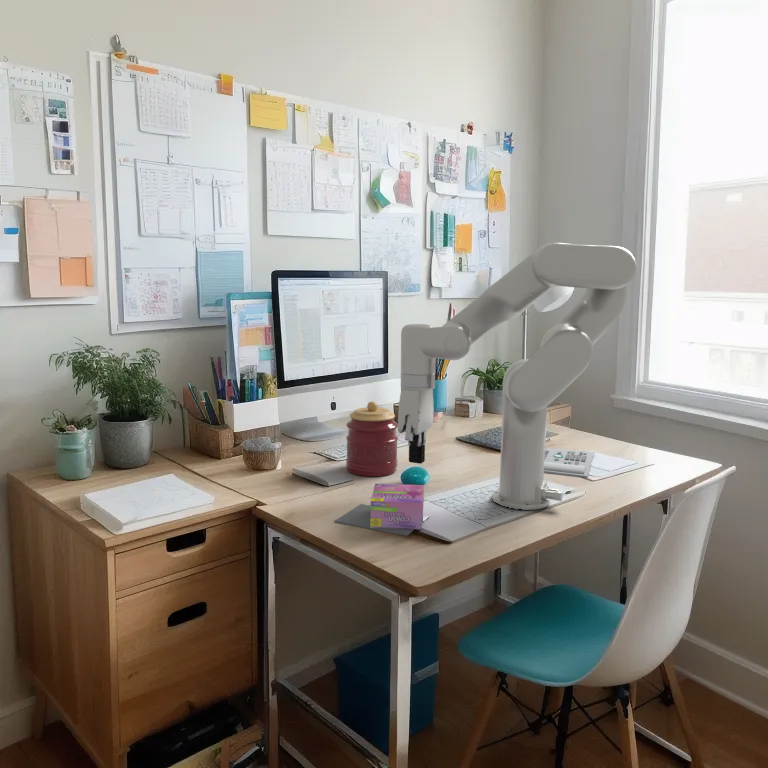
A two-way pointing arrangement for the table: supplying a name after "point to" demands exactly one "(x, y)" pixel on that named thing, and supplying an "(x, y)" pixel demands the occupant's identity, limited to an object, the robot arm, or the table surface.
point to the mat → (366, 520)
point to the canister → (372, 441)
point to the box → (397, 506)
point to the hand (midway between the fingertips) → (416, 461)
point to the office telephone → (568, 462)
